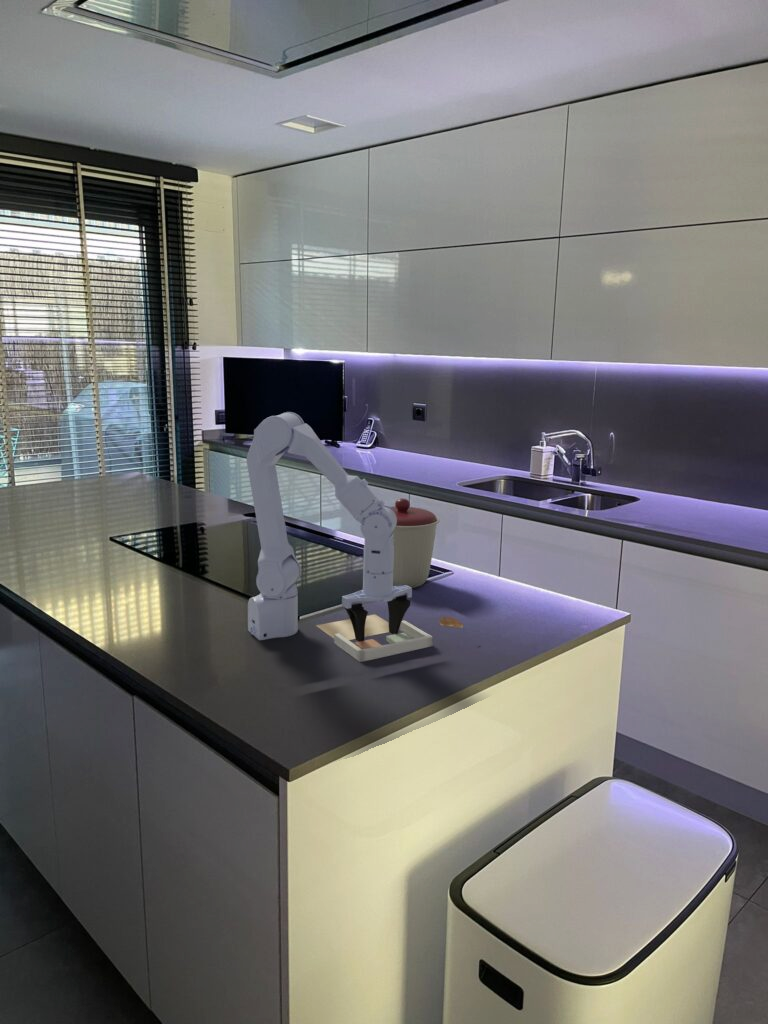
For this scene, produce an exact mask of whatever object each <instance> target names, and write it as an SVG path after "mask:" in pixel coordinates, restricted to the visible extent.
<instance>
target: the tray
mask: <svg viewBox="0 0 768 1024" xmlns="http://www.w3.org/2000/svg"><path fill="white" fill-rule="evenodd" d="M399 629H400V630H399V631H401V632H402V633H405V634H407V635H408V636H410V637H412V638H413V639H410V640H405V641H401V642H396V643H391V644H390V643H387V644H381V645H382V646H377V647H372V648H368V649H363V650H362V649H361V648H359V647H358V646H356V645H355V644H354V642H352V640H348V639H346V638H345V637H343V636H342V635H341V634H339V633H338V634H334V639H333V641H334V645H335V646H337V647H338V648H340V649H342V650H343V651H344V652H346V653H347V654H348V655H349V656H351V657H352V658H354V659H355V660H357V661H358V662H359V663H362V662H366V661H371V660H376V659H380V658H385V657H389V656H394V655H398V654H403V653H407V652H408V653H409V652H412V651H415V650H416V651H417V650H420V649H425V648H429V647H430V648H431V647H434V644H433V643H434V636H433V635H431V634H429V633H427V632H425V631H423V630H422V629H420V628H418V627H417V626H415V625H413V624H412V623H410V622H408V621H406V620H405V619H404V620H402V621H401V624H400V627H399Z"/></svg>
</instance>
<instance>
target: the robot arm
mask: <svg viewBox="0 0 768 1024" xmlns="http://www.w3.org/2000/svg"><path fill="white" fill-rule="evenodd" d="M286 451H287V453H288V454H291V455H292V454H293V455H297V456H302V457H305V458H306V459H307V460H308V461H310V463H311V464H312V465H313V466H314V467H315V468H316V469H317V470H318V471H319V472H320V473H321V474H322V475H323V476H324V477H325V478H326V479H327V480H328V481H329V482H330V483H331V485H333V487H334V497H335V498H336V499H337V500H338V502H339V503H340V504H342V506H343V507H344V508H345V509H346V510H347V512H348V513H349V514H350V515H351V516H352V517H353V518H354V519H355V521H357V522H358V523H360V524H361V525H360V527H359V528H360V531H361V533H362V535H363V537H364V545H363V563H362V564H363V568H362V569H363V570H362V574H363V575H362V589H361V590H358V591H355V592H352V593H349V594H346V595H342V596H341V605H342V607H343V608H344V609H345V611H346V613H347V615H348V617H349V619H350V620H351V622H352V625H353V629H354V633H355V638H356V639H355V640H356V642H360V641H365V638H366V637H365V622H366V617H367V616H368V613H369V611H368V610H366V609H365V608H364V606H363V605H367V604H373V603H379V602H382V603H384V602H386V603H387V608H388V623H389V632H388V633H390V634H391V635H394V634H399V631H400V630H399V629H400V624H401V621H403V619H404V616H405V615H406V613H407V611H408V609H409V608H410V606H411V600H409V599H410V598H412V597H413V588H411V587H409V586H407V585H404V586H393V564H394V546H393V542H394V538H393V537H394V534H393V533H392V531H393V530H394V529H395V527H396V524H397V517H396V514H395V512H394V511H393V509H392V507H393V506H390V505H388V504H386V503H385V501H384V500H383V499H378V497H377V496H376V494H374V493H373V491H372V490H371V489H370V488H369V481H367V480H366V478H363V479H361V478H360V477H359V476H358V475H350V474H349V473H347V472H346V471H345V469H344V468H343V466H342V465H341V464H340V463H339V462H338V460H337V459H336V458H335V457H334V455H333V454H332V453H331V451H329V449H328V448H327V446H326V445H325V444H324V443H323V442H322V440H320V438H319V436H318V435H317V434H316V432H315V431H314V429H313V428H312V427H311V426H310V425H309V424H308V423H305V422H304V420H303V417H301V416H300V415H299V414H297V413H295V412H292V411H286V412H283V413H280V414H278V415H271V416H269V417H266V418H265V419H263V420H262V421H261V422H260V423H259V424H258V426H256V428H254V429H253V438H252V441H251V444H250V447H249V449H248V453H247V454H246V466H247V472H248V477H249V485H250V488H251V494H252V495H251V496H252V502H253V506H254V512H255V519H256V525H257V531H258V532H257V533H258V537H259V543H260V548H261V549H260V551H259V554H258V555H259V556H258V559H257V567H258V571H257V575H256V577H255V581H256V582H255V584H256V587H257V589H258V591H259V592H260V593H259V594H258V595H256V596H252V597H250V598H249V599H248V602H247V631H248V632H249V633H250V634H251V635H252V636H253V637H255V638H256V639H257V640H258V641H265V640H269V639H275V638H286V637H291V636H293V635H295V634H297V633H298V630H299V627H298V626H299V624H298V622H299V621H298V620H299V619H298V618H299V617H298V616H299V614H298V613H299V610H298V609H299V608H298V607H299V605H298V603H299V601H298V597H299V596H298V593H299V592H298V591H299V590H298V588H297V582H298V580H299V579H300V578H301V575H302V567H301V564H300V562H299V561H298V559H297V557H296V556H295V552H294V548H293V547H292V545H291V544H290V543H289V540H288V535H287V529H286V528H287V527H286V521H285V517H284V509H283V504H282V503H283V502H282V498H281V490H280V484H279V479H278V472H277V467H276V464H277V462H278V461H279V460H280V459H281V458H282V457H283V455H284V454H285V453H286Z"/></svg>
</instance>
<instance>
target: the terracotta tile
mask: <svg viewBox="0 0 768 1024" xmlns="http://www.w3.org/2000/svg"><path fill="white" fill-rule="evenodd" d="M353 644H355V645H356V646H358V647H359V648H361V649H362V650H363V649H368V648H372V647H377V646H382V645H383V644H380V642H378V641H376V640H375V639H373V638H371V639H370V638H369V639H366V640H365V639H364V641H360V642H359V641H355V642H353Z"/></svg>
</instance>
